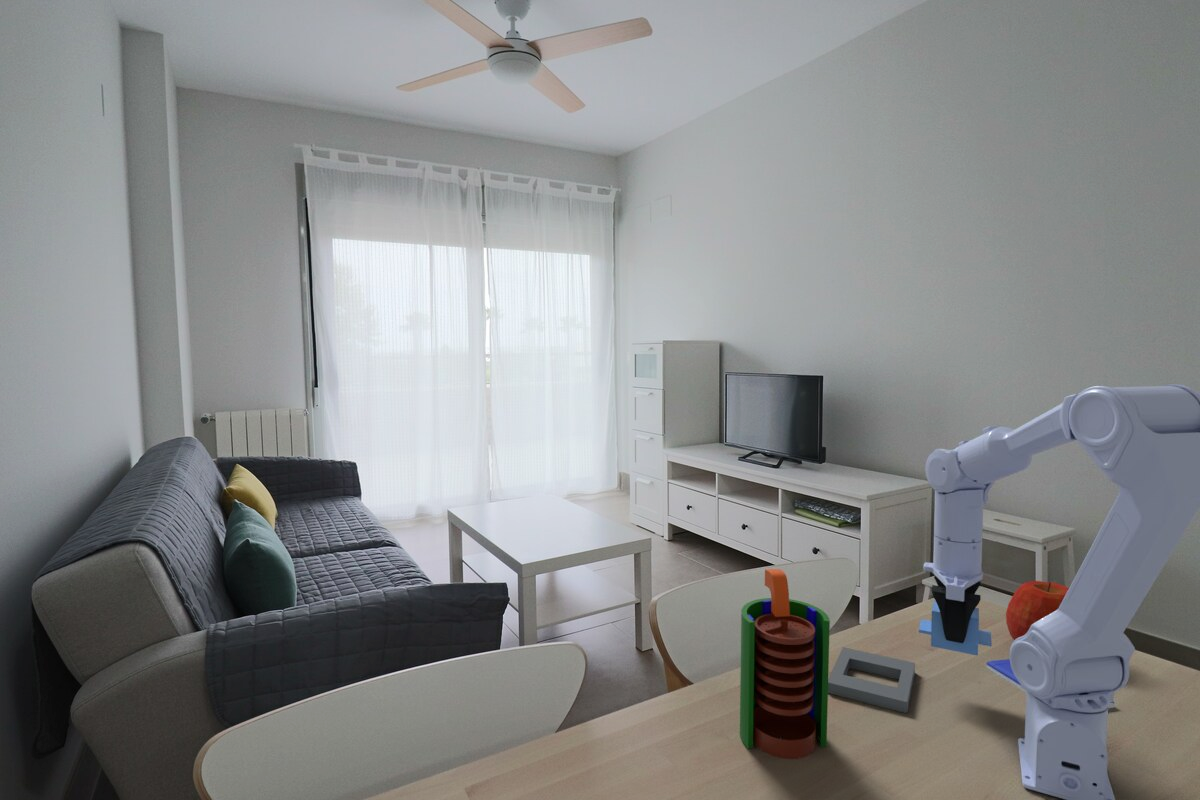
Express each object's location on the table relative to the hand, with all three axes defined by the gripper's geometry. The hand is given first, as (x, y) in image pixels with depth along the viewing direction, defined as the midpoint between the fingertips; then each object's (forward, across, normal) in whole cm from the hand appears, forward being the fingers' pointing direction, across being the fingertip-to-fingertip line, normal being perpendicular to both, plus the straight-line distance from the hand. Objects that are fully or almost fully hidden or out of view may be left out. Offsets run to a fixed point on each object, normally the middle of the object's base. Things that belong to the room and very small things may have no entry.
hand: (955, 634), depth 86 cm
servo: (+2, 0, 0) cm, 2 cm away
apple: (+8, -22, +12) cm, 26 cm away
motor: (+8, +22, -18) cm, 30 cm away
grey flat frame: (+8, +3, -10) cm, 13 cm away
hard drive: (+9, -8, +11) cm, 16 cm away
